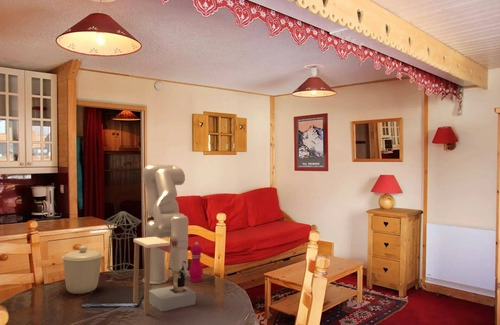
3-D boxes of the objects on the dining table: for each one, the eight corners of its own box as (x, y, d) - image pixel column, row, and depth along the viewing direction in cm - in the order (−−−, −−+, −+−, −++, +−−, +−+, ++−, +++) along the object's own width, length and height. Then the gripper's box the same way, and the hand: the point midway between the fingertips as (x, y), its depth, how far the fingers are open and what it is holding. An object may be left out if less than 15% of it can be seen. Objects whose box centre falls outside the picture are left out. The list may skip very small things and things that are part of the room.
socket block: (147, 301, 173) (148, 290, 173) (180, 295, 183) (181, 284, 183) (161, 311, 162) (161, 299, 162) (195, 304, 171) (195, 292, 171)
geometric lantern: (143, 276, 211) (143, 211, 211) (115, 283, 200) (116, 214, 199) (127, 270, 222) (128, 208, 221) (101, 276, 211) (101, 211, 210)
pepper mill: (200, 283, 202) (200, 243, 202) (186, 281, 204) (187, 243, 204) (204, 279, 209) (205, 241, 209) (191, 277, 211) (192, 240, 211)
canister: (60, 298, 174) (61, 251, 174) (61, 287, 191) (62, 243, 191) (103, 294, 181) (104, 248, 182) (101, 283, 198) (102, 241, 198)
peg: (171, 294, 174) (172, 267, 174) (180, 293, 177) (181, 266, 177) (175, 297, 171) (176, 269, 171) (185, 295, 173) (185, 268, 173)
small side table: (131, 304, 169) (133, 238, 169) (153, 300, 175) (155, 236, 175) (145, 315, 157) (146, 244, 157) (168, 310, 163) (170, 242, 163)
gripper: (163, 241, 179) (162, 282, 178) (180, 248, 165) (179, 291, 165) (178, 240, 183) (177, 279, 183) (196, 246, 170) (195, 288, 169)
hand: (178, 284), depth 174 cm, fingers closed on peg, 4 cm apart
